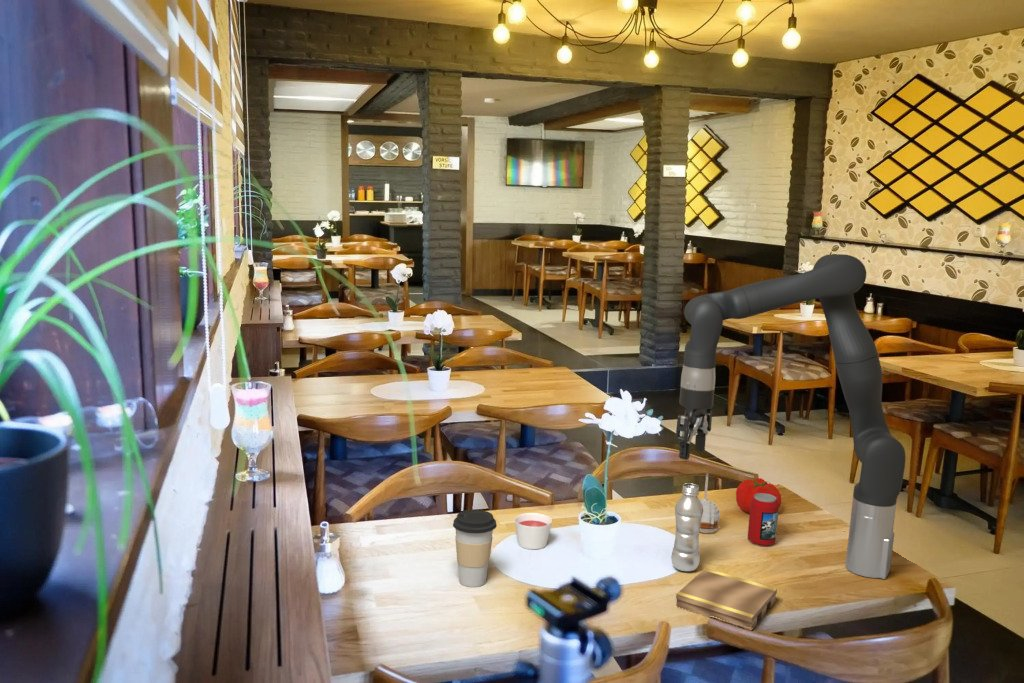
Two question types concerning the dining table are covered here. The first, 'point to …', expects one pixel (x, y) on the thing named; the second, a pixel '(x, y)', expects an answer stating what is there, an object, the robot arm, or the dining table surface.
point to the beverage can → (763, 519)
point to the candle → (532, 530)
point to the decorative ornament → (709, 513)
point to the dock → (726, 597)
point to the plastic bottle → (687, 529)
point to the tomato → (754, 492)
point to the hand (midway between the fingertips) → (692, 454)
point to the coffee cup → (473, 545)
